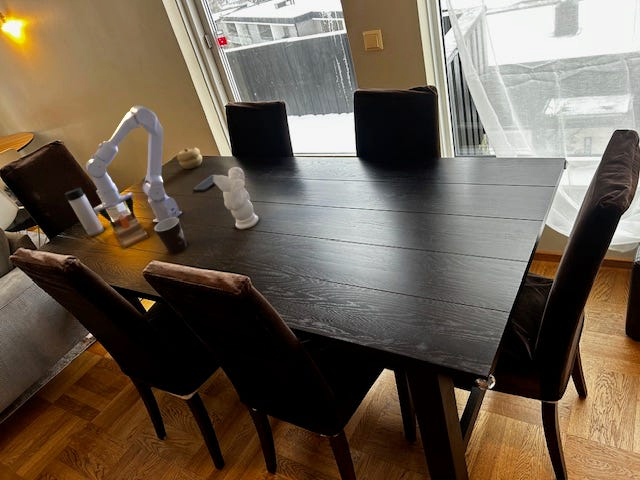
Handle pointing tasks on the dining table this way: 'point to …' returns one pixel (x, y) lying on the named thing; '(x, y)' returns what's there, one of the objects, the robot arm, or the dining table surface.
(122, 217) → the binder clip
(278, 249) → the dining table surface
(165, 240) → the coffee mug
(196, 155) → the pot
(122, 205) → the syrup box
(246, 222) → the cherub figurine
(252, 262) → the dining table surface
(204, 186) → the cell phone
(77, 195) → the travel mug
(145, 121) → the robot arm
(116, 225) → the step shelf
